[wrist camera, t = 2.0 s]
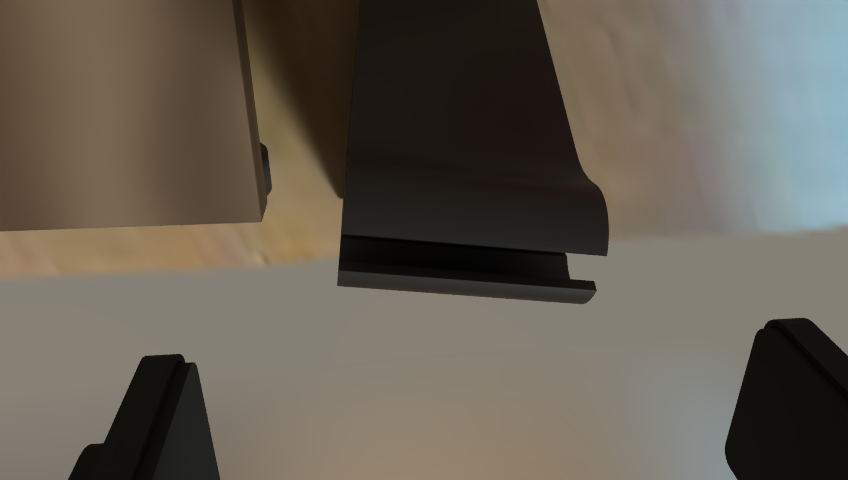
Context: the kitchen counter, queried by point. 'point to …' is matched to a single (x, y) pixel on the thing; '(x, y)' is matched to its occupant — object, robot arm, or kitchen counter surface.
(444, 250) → the phone stand
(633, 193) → the kitchen counter surface
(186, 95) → the trolley
